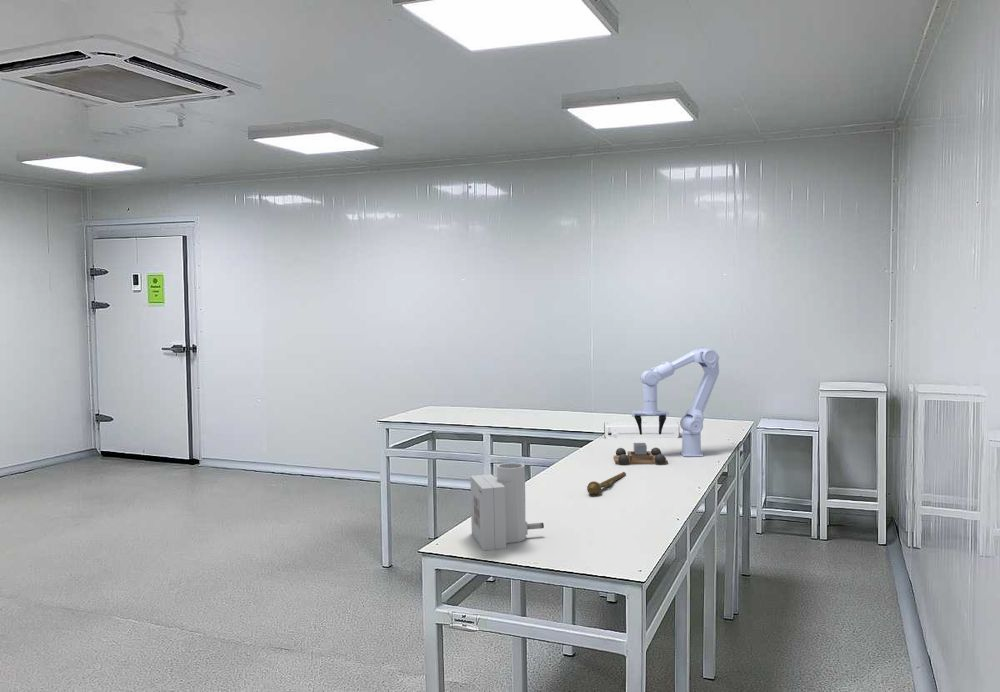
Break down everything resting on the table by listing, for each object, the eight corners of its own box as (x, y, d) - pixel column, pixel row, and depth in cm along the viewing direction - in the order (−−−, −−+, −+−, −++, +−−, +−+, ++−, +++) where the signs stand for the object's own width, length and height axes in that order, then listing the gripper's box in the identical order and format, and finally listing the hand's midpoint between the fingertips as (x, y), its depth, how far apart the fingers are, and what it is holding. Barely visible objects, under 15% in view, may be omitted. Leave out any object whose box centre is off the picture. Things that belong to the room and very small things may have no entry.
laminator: (677, 435, 385) (676, 421, 384) (679, 439, 373) (679, 425, 372) (604, 435, 389) (604, 422, 388) (604, 439, 376) (604, 426, 376)
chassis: (613, 457, 331) (613, 447, 331) (663, 457, 330) (663, 447, 329) (616, 465, 316) (615, 455, 316) (668, 464, 314) (668, 454, 314)
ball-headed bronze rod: (617, 479, 299) (629, 481, 297) (583, 496, 268) (597, 498, 265) (618, 466, 299) (630, 468, 297) (584, 481, 267) (598, 484, 265)
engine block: (633, 456, 326) (633, 442, 325) (645, 456, 325) (644, 442, 325) (635, 459, 320) (634, 445, 319) (646, 459, 319) (646, 445, 319)
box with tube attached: (470, 533, 227) (469, 462, 226) (535, 528, 232) (533, 458, 230) (482, 550, 212) (481, 474, 210) (551, 544, 216) (550, 469, 215)
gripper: (632, 402, 326) (633, 435, 326) (669, 401, 325) (669, 435, 325) (631, 399, 333) (631, 433, 333) (667, 399, 332) (667, 432, 332)
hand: (650, 434), depth 330 cm, fingers open, 7 cm apart
